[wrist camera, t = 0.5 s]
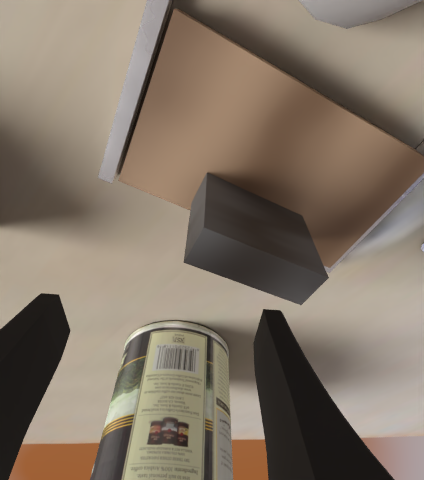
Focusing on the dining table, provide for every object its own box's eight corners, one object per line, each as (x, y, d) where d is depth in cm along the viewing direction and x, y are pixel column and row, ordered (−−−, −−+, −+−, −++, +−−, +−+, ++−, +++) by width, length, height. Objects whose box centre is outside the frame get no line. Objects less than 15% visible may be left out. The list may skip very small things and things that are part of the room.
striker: (413, 148, 17) (512, 216, 11) (321, 248, 21) (359, 333, 15) (179, 9, 13) (151, 6, 8) (127, 165, 17) (85, 236, 12)
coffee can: (152, 385, 34) (119, 573, 22) (105, 331, 28) (28, 550, 16) (241, 371, 32) (255, 570, 20) (211, 310, 26) (207, 541, 14)
